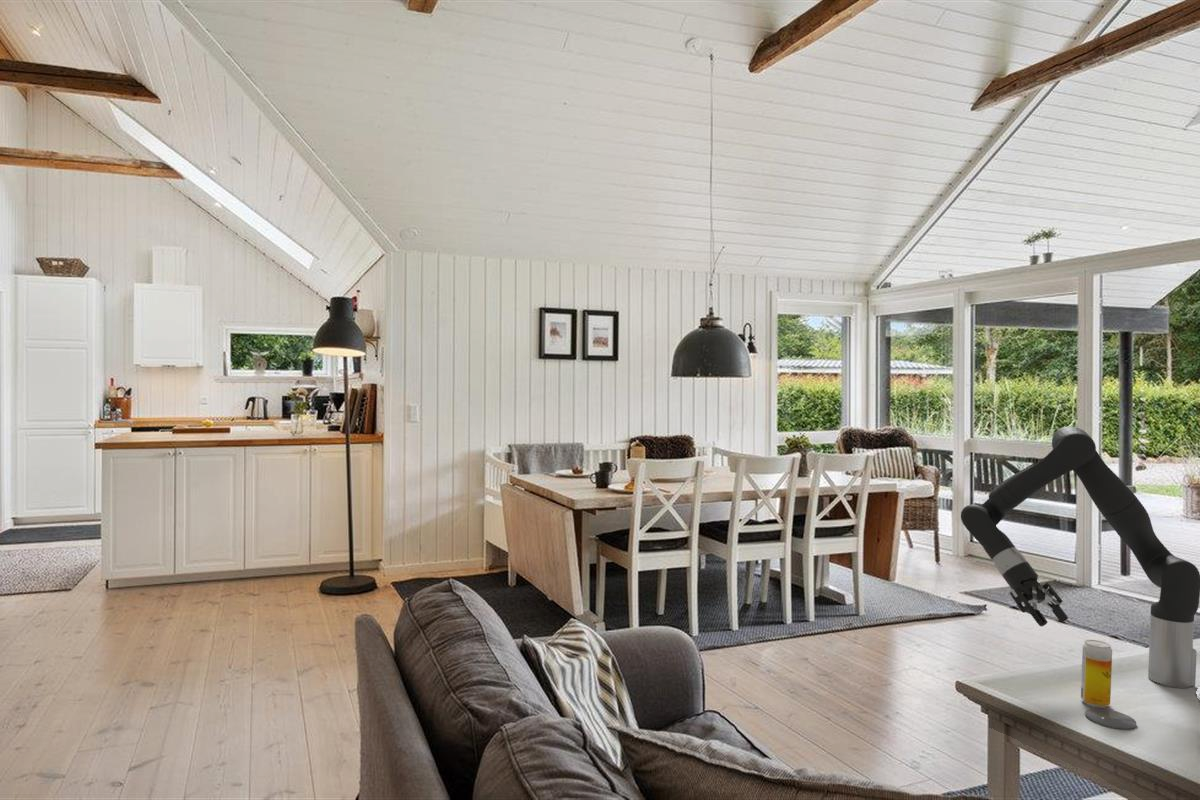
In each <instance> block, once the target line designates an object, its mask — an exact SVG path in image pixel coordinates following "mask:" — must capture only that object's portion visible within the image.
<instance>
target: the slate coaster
mask: <svg viewBox="0 0 1200 800" xmlns="http://www.w3.org/2000/svg"><path fill="white" fill-rule="evenodd" d="M1084 716H1085V717H1086V719H1088V720H1089V721H1091V722H1093V723H1095V724H1097V725H1100V726H1103V727H1107V728H1109V727H1110V729H1115V730H1121V731H1122V730H1124V731H1126V730H1128V731H1129V730H1134V729H1135V728H1136V727H1137V721H1136V719H1134V718H1133V717H1131V716H1130V715H1128V714H1125V713H1123V712H1120V711H1117V710H1113V709H1109V708H1096V707H1091V708H1090V707H1089V708H1087V709H1086V710H1084Z"/></svg>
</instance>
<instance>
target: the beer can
mask: <svg viewBox="0 0 1200 800" xmlns="http://www.w3.org/2000/svg"><path fill="white" fill-rule="evenodd" d="M1081 653H1082V655H1081V656H1082V657H1081V680H1080V682H1081V684H1080V699H1081V700H1082V701H1083V703H1084V704H1085V705H1087V706H1090V707H1091V708H1103V709H1107V707H1108V706H1110V705H1111V696H1112V695H1111V692H1112V689H1111V688H1112V669H1113V668H1112V667H1113V666H1112V665H1113V663H1112V662H1113V649H1112V647H1111V644H1109V643H1107V642H1105V641H1101V640H1095V639H1086V640H1084V642H1083V644H1082V651H1081Z"/></svg>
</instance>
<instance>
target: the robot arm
mask: <svg viewBox="0 0 1200 800" xmlns="http://www.w3.org/2000/svg"><path fill="white" fill-rule="evenodd" d="M1051 447H1052V448H1051V449H1052V450H1050V452H1049V453H1048V454H1046V455H1045V456H1044V457H1043V458H1042V459H1040V460H1039V461H1038V462H1036V463H1035V464H1034V465H1031V466H1030V467H1027V468H1025V469H1024V470H1022V471H1019V472H1017V473H1015V474H1014V475H1011V477H1010V476H1009V478H1008V479H1005V480H1004V481H1003V482H1001V483H1000V484H999V485H997V486H996V487H995V488H994V489H993V490H991V491H990V492H989V494H988V498H987V500H985V501H984V503H982V504H981V505H979V504H968V505H966V506H965V507H963V508H962V510H961V511H960V519H961V523H962V525H963V526H964V528H966V530H967V531H968V532H969V534H971V535H972V536H973V538H974V539H975V540H976V541H977V542H978V543H979V544H980V545H981V547H982V548H983V549H984V551H985V552H986V554H987V555H988V556H989V558H990V559H991V561H992V562H993V564H994V566H995V567H996V569H997V572H999V574H1000V575H1001V577H1002V578H1003V579H1004V580H1005V582H1006V584H1008V586H1009V588H1010V589H1011V591H1010V592H1009V595H1010V596H1011V598H1012V599H1013V601H1014V603H1016V605H1017V607H1018V609H1019V610H1020V612H1022V613H1023V614H1024V613H1026V614H1029V615H1031V617H1032V618H1033V619H1034V621H1035V622H1036V623H1037V625H1038V626H1040V627H1044V626H1046V625H1047V624H1048V621H1047V619H1046V618H1045V616H1044V615H1043V614H1042V612H1041V610H1040V609H1038V604H1041V605H1042V606H1046V607H1047V608H1049V609H1050V610H1051V612H1052V613H1053V614H1054V616H1055V617H1056V618H1057V620H1058V621H1059V622H1060V623H1065V622H1066V621H1068V620H1069V617H1068V615H1067V614H1066V613H1065V611H1064V610H1063V609H1062V607H1061V604H1062V603H1063V599H1062V598H1061V597H1060V596H1059V594H1058V593H1057V591H1056V590H1054V588H1053V587H1052V586H1051V584H1050V583H1048V582H1045V583H1044V584H1041V583H1040V582H1038V579H1039V575H1038V573H1037V572H1036V570H1035V569H1034V568H1033V566H1032V565H1031V564H1030V562H1029V561H1028V560H1027V559H1026V558H1025V556H1024V555H1023V554H1022V553H1021V552H1020V550H1018V549H1017V547H1016V546H1015V545H1014V543H1013V542H1012V541H1011V539H1010V538H1009V537H1008V535H1006V534H1005V532H1004V531H1002V530H1000V529H999V528H998V527H997V525H998V524H999V523H1000V522H1001V521H1002V520H1003V519H1004V518H1005V517H1006V516H1007V514H1008V513H1009V512H1011V511H1013V510H1014V509H1015V508H1016V507H1018V506H1019V505H1021V504H1022V503H1024V502H1025V501H1026V500H1027V499H1028V498H1030V497H1031V496H1032V495H1034V494H1035V493H1038V491H1039V490H1041V489H1043V488H1045V487H1046V486H1048V484H1050V483H1052V482H1053V481H1055V480H1057V479H1059V478H1060V477H1063V476H1064V475H1065V474H1068V473H1070V472H1072V471H1073V472H1074V473H1075V475H1076V476H1077V477H1078V479H1079V480H1080V482H1081V483H1082V485H1083V487H1084V488H1085V490H1086V492H1087V493H1088V496H1089V497H1090V498H1091V500H1092V502H1093V504H1095V506H1096V508H1097V509H1098V511H1099V512H1100V514H1101V515H1102V517H1104V519H1105V520H1106V521H1107V522H1108V524H1109V525H1110V527H1112V529H1113V530H1114V532H1115V533H1116V534H1117V535H1118V536H1119V538H1120V539H1122V541H1123V542H1124V543H1125V544H1126V546H1127V547H1128V548H1129V550H1131V552H1132V554H1133V555H1134V556H1135V558H1136V560H1137V561H1138V563H1139V565H1140V567H1141V568H1142V570H1143V572H1144V573H1145V575H1146V577H1147V578H1148V579H1149V580H1150V582H1151V583H1153V585H1155V586H1156V587H1158V588H1160V592H1159V593H1160V595H1159V599H1158V601H1156V602H1153V603H1151V605H1150V621H1149V622H1150V623H1149V645H1148V646H1149V647H1148V648H1149V649H1148V667H1147V669H1148V670H1147V672H1148V673H1147V678H1148V677H1149V678H1150V679H1151V680H1150V679H1149V678H1148V679H1149V680H1150V681H1152V680H1153V681H1152V682H1154V681H1155V682H1154V683H1156V682H1157V683H1156V684H1159V683H1160V685H1162V686H1166V687H1171V688H1176V689H1177V688H1179V689H1180V688H1181V689H1186V688H1191V687H1196V677H1197V675H1196V674H1197V656H1198V655H1197V650H1196V649H1194V625H1195V616H1196V613H1197V612H1198V609H1199V606H1200V571H1199V569H1198V567H1197V566H1196V565H1195V564H1193V563H1192V562H1190V561H1188V560H1185V559H1183V558H1180V557H1178V556H1176V555H1174V554H1173V553H1171V551H1170V550H1169V549H1168V548H1167V547H1166V546H1165V545H1164V544H1163V543H1162V541H1160V539H1159V538H1158V537H1157V534H1156V533H1155V531H1154V528H1153V525H1152V522H1151V520H1152V519H1151V518H1150V516H1149V512H1148V511H1147V509H1146V507H1144V505H1143V504H1142V503H1141V501H1140V500H1139V498H1138V497H1137V496H1136V495H1135V494H1134V492H1133V491H1132V490H1131V489H1130V487H1128V486H1127V484H1125V482H1124V481H1123V480H1122V479H1121V478H1120V477H1119V476H1118V475H1117V474H1116V473H1115V472H1114V471H1113V470H1112V469H1111V468H1110V467H1109V466H1108V465H1107V463H1105V461H1104V460H1103V459H1102V457H1101V455H1100V454H1099V452H1098V451H1097V446H1096V443H1095V440H1094V439H1093V438H1092V437H1091V436H1090V435H1089V434H1088V433H1087V432H1086V431H1085V430H1084V429H1081V428H1079V427H1075V426H1063V427H1061V428H1059V429H1057V430H1056V431H1055V432H1054V434H1053V436H1052V439H1051ZM1022 603H1023V604H1022Z"/></svg>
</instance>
